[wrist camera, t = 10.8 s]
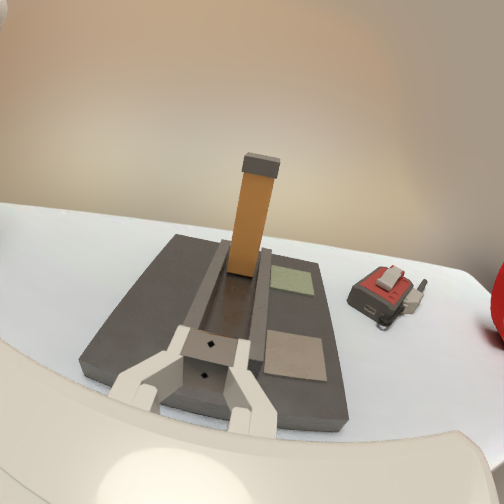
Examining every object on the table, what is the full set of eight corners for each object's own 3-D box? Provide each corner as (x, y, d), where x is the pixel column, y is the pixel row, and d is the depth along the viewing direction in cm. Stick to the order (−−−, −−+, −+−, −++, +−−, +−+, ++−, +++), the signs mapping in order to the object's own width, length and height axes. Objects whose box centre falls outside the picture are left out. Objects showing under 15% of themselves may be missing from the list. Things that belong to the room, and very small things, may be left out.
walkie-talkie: (395, 342, 28) (426, 290, 42) (412, 313, 26) (437, 268, 40) (338, 306, 34) (387, 268, 47) (350, 277, 32) (396, 246, 45)
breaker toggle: (224, 272, 31) (244, 155, 25) (229, 258, 34) (248, 152, 28) (254, 278, 31) (280, 162, 25) (257, 264, 34) (279, 158, 28)
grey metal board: (84, 375, 17) (72, 340, 15) (174, 246, 39) (176, 220, 37) (337, 431, 17) (361, 405, 15) (314, 275, 39) (322, 250, 37)
